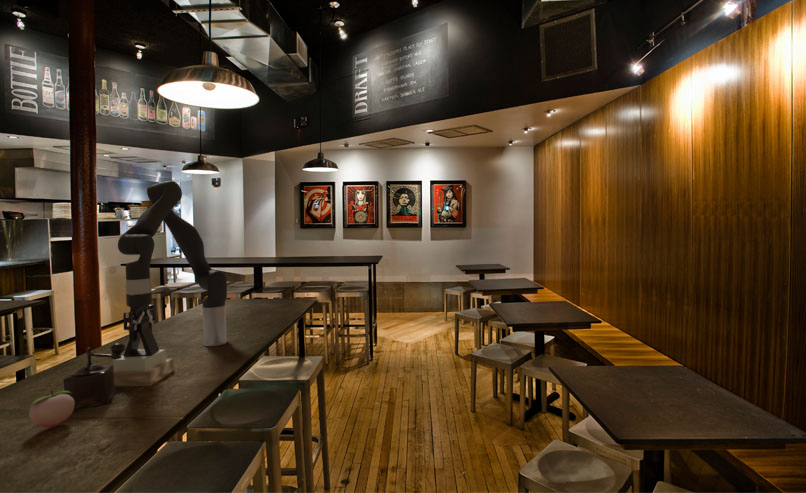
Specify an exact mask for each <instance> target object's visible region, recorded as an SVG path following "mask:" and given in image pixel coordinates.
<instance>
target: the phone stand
mask: <svg viewBox="0 0 806 493" xmlns="http://www.w3.org/2000/svg"><path fill="white" fill-rule="evenodd" d="M149 323H150V321H149V319H147V318H146V319H145V320H142V321H141V322H140V324H139V325H138V327H137V329H136V330H137V341H130V339H129V340H128V343H127V345H126V346H125V350H124V353H123V354H122V355H123V356H124V357H135V356H152V355H153V354H154V353H156V352H157V351H159V350H160V347H159V346H158V344H157V343H158V342H157V340H156V339H155V336H154V333H153V330H152V331H151V329H150V326H149ZM134 325H135V324H133V327H134ZM140 342H141V344H142V346H143V348H144V349H145V350H138V349H139V345H140Z"/></svg>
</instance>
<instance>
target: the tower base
mask: <svg viewBox="0 0 806 493" xmlns="http://www.w3.org/2000/svg"><path fill="white" fill-rule="evenodd" d="M174 370H175V368H174V358H166V361H164V362H162V363H160V364H158V365H156V366H154V367H153V368H151V369H149V370H147V371H114V385H115V387H144V386H145V387H146V386H147V387H150V386H152V385H155V383H157V382H159V381H160V380H162V379H163V378H165V377H167V376H168V375H170V374H171V373H172V372H174Z"/></svg>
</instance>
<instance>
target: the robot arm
mask: <svg viewBox="0 0 806 493" xmlns="http://www.w3.org/2000/svg"><path fill="white" fill-rule="evenodd" d="M146 194H147V198H148V200H149V201H150V203H151V206H150V207H149V208H146V210H145V211H144V212H142V214H141V215H140V216H139V217H138V219H137V221H136V222H135V224H134V225H133V226H131V227H130V228H129V229H128V230H126V231H125V232H124V233H123V234H122V235H121V236H120V237H119V239H118V242H117V249H118V251H119V252H120V254H123V255H126V256H138V255H139V257H138V259H137V260H135V261H130V262H128V263H126V264H125V300H126V302H125V303H126V306H127V307H129V309H130V310H129V311H125V312H123V330H124V331H128V338H129V339H130V341H137V330H136V329H137V327H138V325H139V324H140V322H141V321H142V320H145V319H146V318H147V319H149V321H150V323H149V326H150V329H151V331H152V332H153V323H154V321H156V320H157V315H156V305H155V304H152V303H153V293H152V292H153V291H152V281H151V270H150V268H151V267H150V266H151V262H152V256H153V253H154V250H155V239H154V238H153V237H154V236H155V235H156V234H157V232H158V230H159V228H160V226H161V224H162V223H163V222H164V223H165V225H166V227H167V229H168V230H169V232H170V233H171V235H172V237H173V239H174V240H175V242H176V245H177V246H178V248H179V249H180V251H181V253H182V254H183V255H184V258H185V260H186V262H187V263H188V265H189V266H190V268H191V271H192V272H193V275H194V277H195V279H196V281H197V284H198V286H199V287H200V288H201V289H202V290H205V291H207V295H206V298H205V299H203V300H202V304H201V305H202V325H203V326H202V327H203V345H204V346H205V347H218V346H222V345H225V344H227V342H228V341H227V340H228V339H227V321H226V320H227V319H226V318H227V317H226V300H227V298H228V280H227V276H226V274H225V273H224V272H223V271H220V270H215V269H212V267H211V266H210V265H209V263H208V261H207V259H206V255H205V246H204V242H203V239H202V237H201V235H200V234H199V232H198V230H197V229H196V227H195V226H193V225H192V224H191V223H190V222H188V221H186V220H185V219H183V218H182V217H181V216H180V215H178V214H176V212H175V211H174V210H173V209H174V207H176V205H178V203H179V202H180V201H181V199H182V196H183V192H182V189H181V186H180V185H179V184H178V183H177V181H175V180H166V181H162V182H157V183H154V184H151V185H149V186H148V187H147V189H146ZM133 324H135V325H134V327H133Z"/></svg>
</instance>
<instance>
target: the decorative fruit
mask: <svg viewBox="0 0 806 493" xmlns="http://www.w3.org/2000/svg"><path fill="white" fill-rule="evenodd" d="M66 393H71V392H69V391H64V390H59V391H55V392H54V390H51V393H50V394H49V395H45V396H41V397H39V398H37V399H35V400H34V401H33V402H31V405H30V409H29V412H28V413H29V414H28V416H29V419H30V420H31V422H32V423H33V424H34V425H36V426H39V427H42V428H52V429H53V428H56V427H57V426H58V425H60V424H61V423H63V422H65V421H66V420H67V419H69V418H70V416H71V415H72V414H73V411H75V409H74V405H75V402H74V399H73V398H72V397H71V396H70V395H68V394H66Z"/></svg>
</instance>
